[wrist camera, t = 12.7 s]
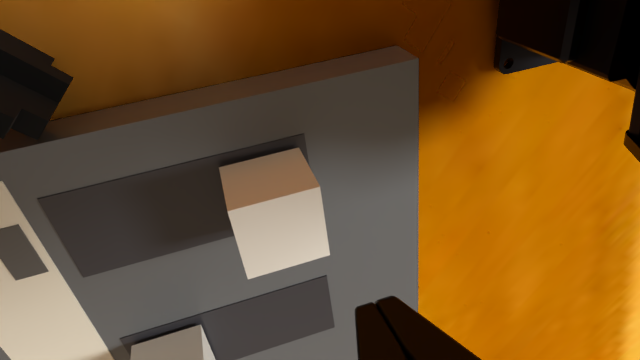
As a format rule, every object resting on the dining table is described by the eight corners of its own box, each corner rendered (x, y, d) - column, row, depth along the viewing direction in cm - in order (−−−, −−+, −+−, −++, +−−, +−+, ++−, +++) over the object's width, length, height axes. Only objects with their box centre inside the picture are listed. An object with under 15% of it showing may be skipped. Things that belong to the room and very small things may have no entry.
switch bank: (397, 45, 19) (420, 59, 17) (404, 371, 32) (418, 398, 31) (-127, 159, 16) (-163, 190, 14) (123, 471, 29) (120, 508, 27)
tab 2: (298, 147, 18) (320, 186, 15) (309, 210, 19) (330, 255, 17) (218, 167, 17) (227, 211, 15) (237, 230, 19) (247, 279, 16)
